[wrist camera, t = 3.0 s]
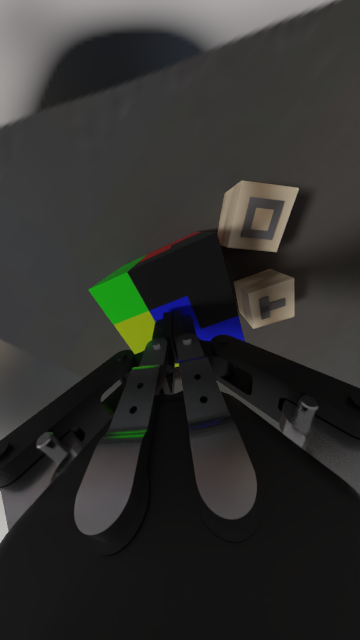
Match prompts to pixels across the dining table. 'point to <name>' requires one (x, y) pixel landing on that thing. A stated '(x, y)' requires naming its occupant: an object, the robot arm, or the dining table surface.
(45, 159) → the dining table surface
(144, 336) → the puzzle toy
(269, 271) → the marked block
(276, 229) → the marked block
